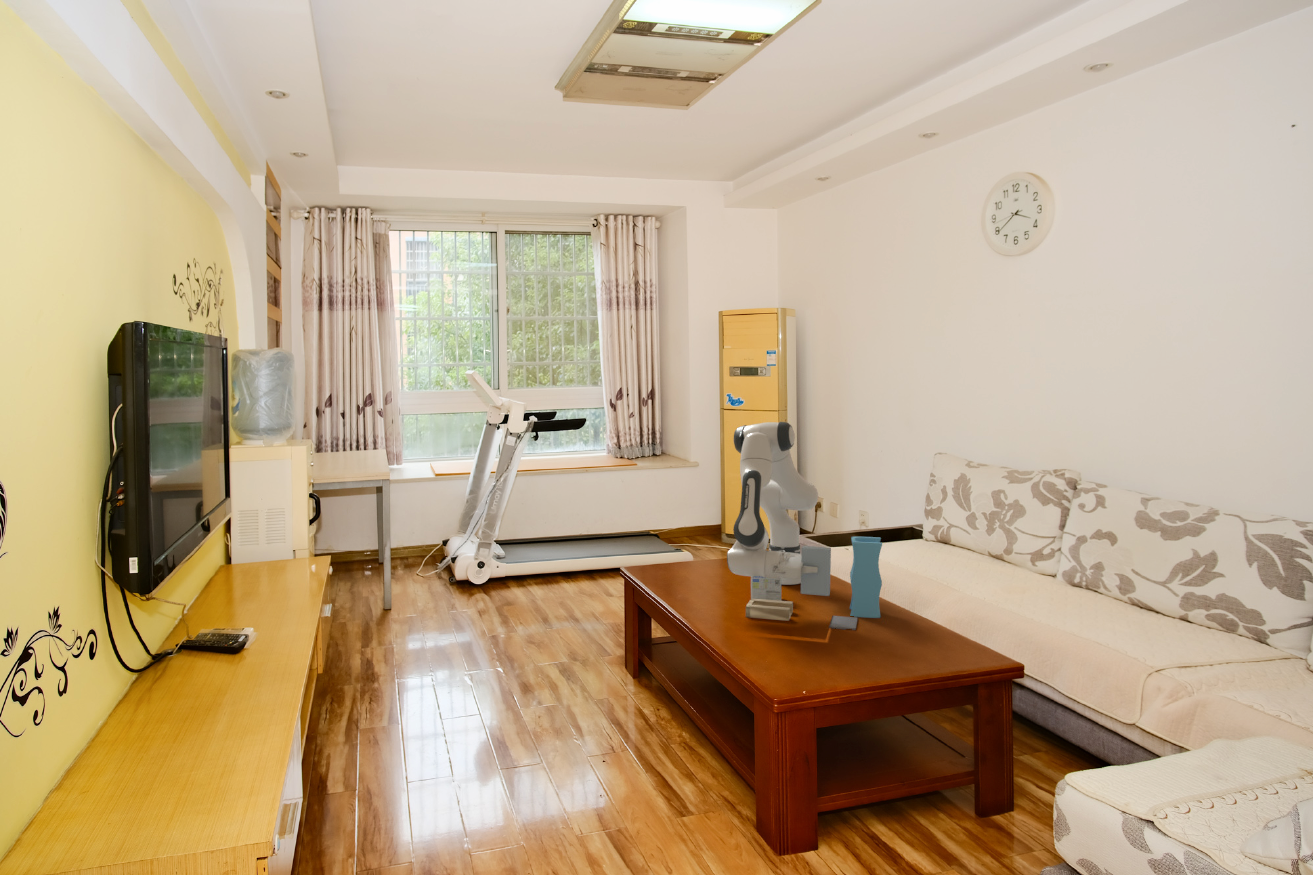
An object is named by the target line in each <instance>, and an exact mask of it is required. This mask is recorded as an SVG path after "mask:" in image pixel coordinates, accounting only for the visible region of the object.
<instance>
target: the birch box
mask: <svg viewBox="0 0 1313 875" xmlns="http://www.w3.org/2000/svg"><path fill="white" fill-rule="evenodd" d="M793 607H794V601H789V600H787V601H786V600H781V601H777V600H765V599H752V598H751V597H750V599H749V601H748V603H746V606H745V618H753V619H764V620H773V621H774V620H775V621H777V620H778V621H790V619H791V617H792V615H793V612H794V608H793Z"/></svg>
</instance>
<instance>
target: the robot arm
mask: <svg viewBox="0 0 1313 875" xmlns="http://www.w3.org/2000/svg"><path fill="white" fill-rule="evenodd" d="M794 431H795V430H794V428H793V426H792V424H790V423H789V422H787V421H786V422H785V421H779V422H777V421H774V422H772V421H770V422H769V421H767V422H760V423H752V424H749V425H747V424H745V425H741V426H739V427H737V428H736V429H735V431H734V432H733V433H734V434H733V445H734V449H735V450H736V451H737V453H739V454H740V459H739V473H740V481H741V494H740V495H741V498H740V507H739V508H740V509H739V513H738V516H737V518H736V520H735V522H734V524H733V536H734V538H735V539H736V541H735V542H734V544H733V545H732V547H731V548H730V549H728V550H727V553H726V562H727V567H728V569H729V571H730V572H731V573H732V574H733V575H734V574H735V575H738V576H743V577H751V576H752V577H754V576H762V577H765V578H778V579H780V578H781V585H783V586H785V585H790V586H791V585H799V584H801V576H802V574H803V573H812V572H813V573H817V572H818V567H817V566H803V565H804V564H803V563H802V562H801V549H802V547H801V545H800V525H799V523H798V522H797V521H796V519H793V518H792V517H791V516H790V515H789V513H788V511H787V510H792V511H799V512H800V511H809V510H813V509H814V508H815V507H816V505H817V503H818V501H819V492H818V490H817V488H816V486H815V485H814V484H812V483H810V482H808V480H806V479H805V478H804V476H802V475H801V474H800V473H799V471H798V470H797V469H796V467H795V464H794V462H793V458H792V454H791V451H790V449H792V448H793V447H794V444H795V438H796V436H795V432H794ZM761 509H762V510H763V511H764V513H765V514H766V517H767V519H768V524H769V533H770V534H769V533H768V531H767V529H766V527H765V525H764V522H763V520H762V518H761ZM769 540H770V541H769ZM769 542H770V543H769ZM768 544H769V546H768ZM767 548H768V550H767Z"/></svg>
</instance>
